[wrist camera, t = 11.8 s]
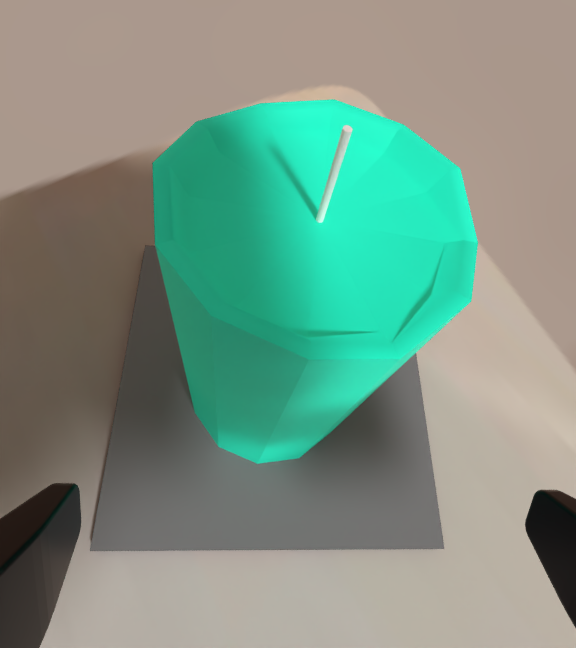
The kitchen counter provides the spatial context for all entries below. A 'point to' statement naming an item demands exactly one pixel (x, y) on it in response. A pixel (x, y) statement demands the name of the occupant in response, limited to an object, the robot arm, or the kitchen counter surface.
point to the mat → (251, 478)
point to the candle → (304, 264)
